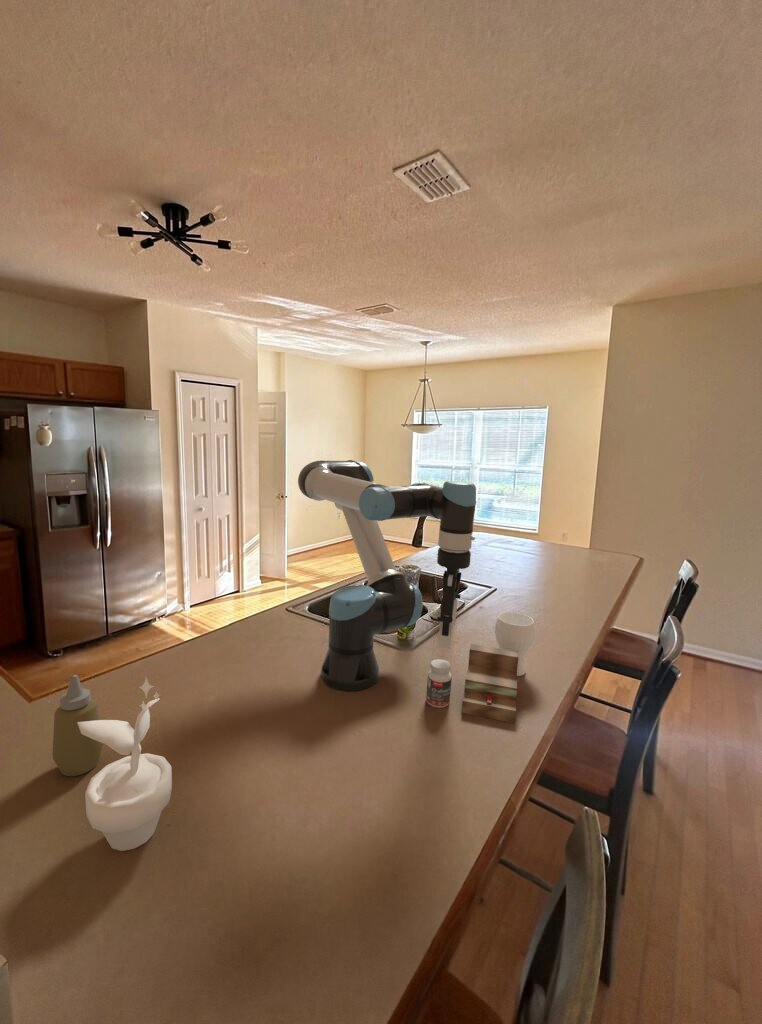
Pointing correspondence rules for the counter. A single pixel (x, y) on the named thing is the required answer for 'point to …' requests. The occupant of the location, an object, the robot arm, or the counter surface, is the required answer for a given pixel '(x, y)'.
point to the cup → (515, 635)
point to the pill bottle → (439, 684)
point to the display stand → (491, 683)
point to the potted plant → (127, 782)
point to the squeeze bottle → (75, 731)
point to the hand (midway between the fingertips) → (447, 634)
